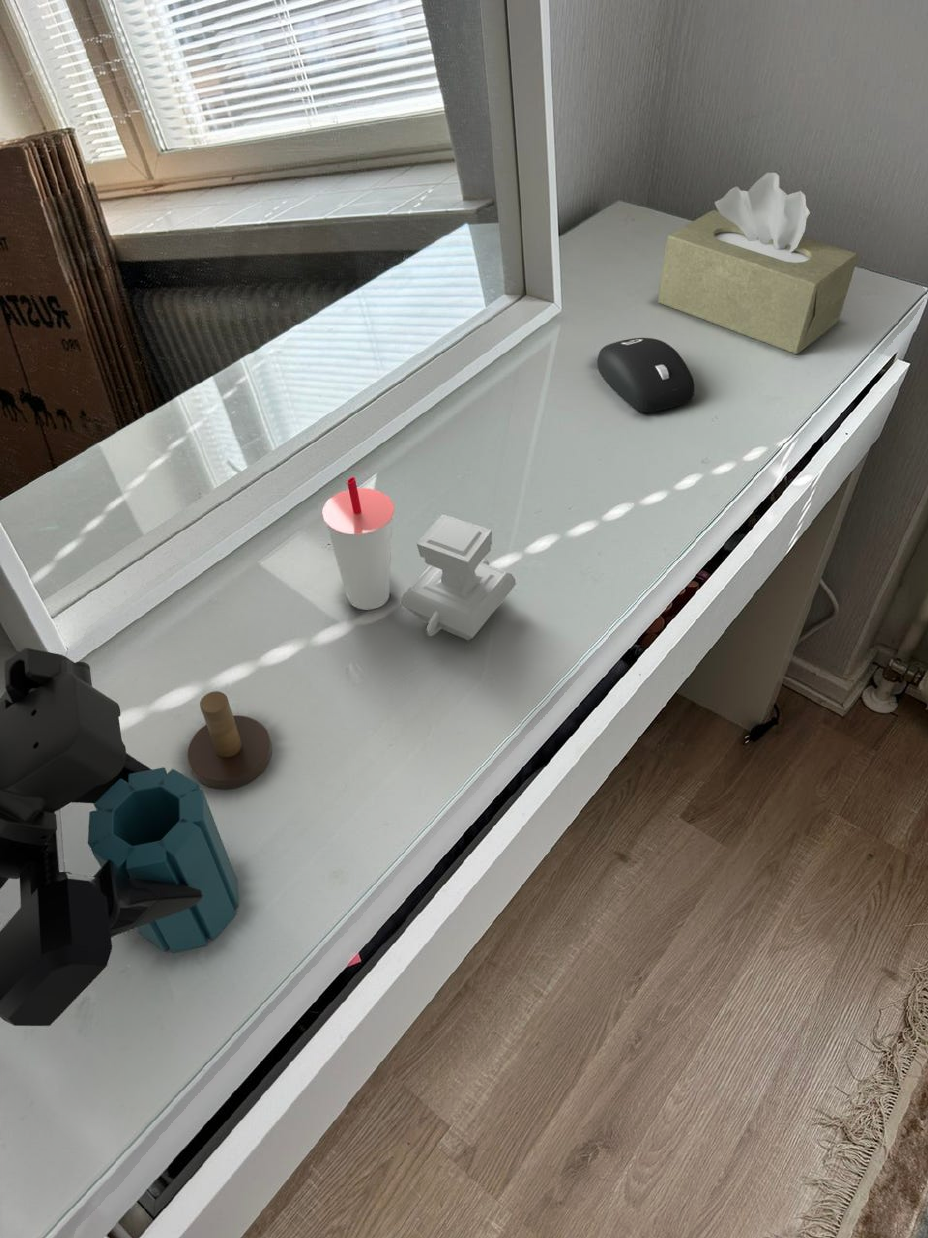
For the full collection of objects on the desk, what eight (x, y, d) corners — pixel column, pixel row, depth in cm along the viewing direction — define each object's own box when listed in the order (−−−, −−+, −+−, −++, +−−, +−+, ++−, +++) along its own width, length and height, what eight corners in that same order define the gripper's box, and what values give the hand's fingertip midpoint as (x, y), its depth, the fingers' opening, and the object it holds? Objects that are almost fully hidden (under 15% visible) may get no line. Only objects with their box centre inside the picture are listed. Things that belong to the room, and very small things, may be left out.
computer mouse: (639, 348, 101) (644, 314, 98) (701, 402, 94) (709, 368, 91) (580, 363, 99) (583, 329, 96) (638, 420, 92) (644, 385, 89)
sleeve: (137, 961, 54) (85, 877, 47) (139, 870, 58) (90, 780, 51) (241, 938, 55) (205, 852, 47) (235, 850, 59) (201, 759, 52)
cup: (330, 617, 73) (310, 498, 64) (341, 571, 77) (324, 453, 68) (397, 620, 73) (386, 501, 64) (404, 574, 76) (395, 455, 68)
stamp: (466, 669, 69) (465, 589, 63) (393, 636, 72) (385, 556, 65) (522, 596, 74) (526, 516, 68) (452, 568, 77) (450, 488, 71)
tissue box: (654, 302, 109) (675, 161, 97) (698, 273, 114) (723, 136, 102) (799, 356, 100) (841, 209, 88) (840, 323, 105) (885, 179, 93)
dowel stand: (207, 803, 61) (187, 750, 57) (179, 745, 65) (157, 691, 60) (285, 766, 63) (270, 712, 59) (253, 711, 67) (237, 657, 62)
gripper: (-29, 870, 33) (313, 910, 43) (-29, 546, 45) (238, 639, 56) (-159, 1032, 37) (184, 1032, 47) (-127, 693, 49) (140, 754, 59)
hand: (188, 846), depth 52 cm, fingers open, 7 cm apart
